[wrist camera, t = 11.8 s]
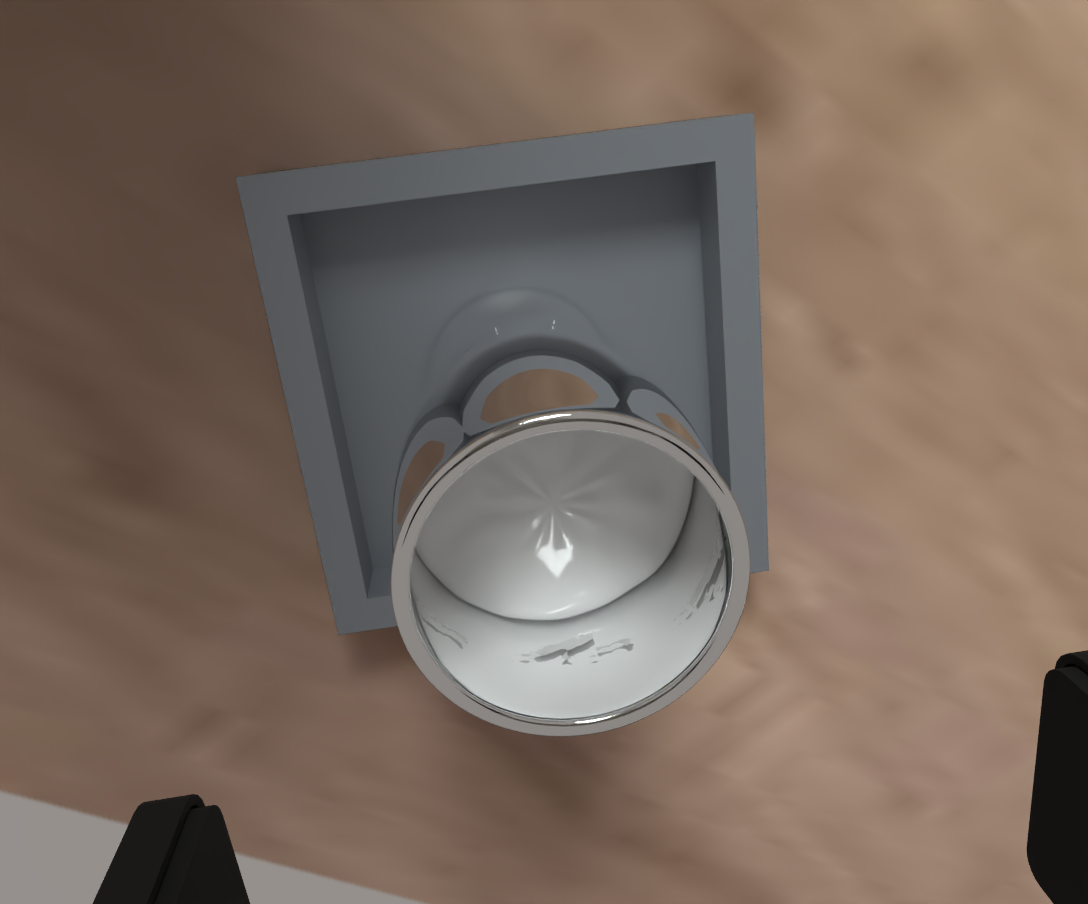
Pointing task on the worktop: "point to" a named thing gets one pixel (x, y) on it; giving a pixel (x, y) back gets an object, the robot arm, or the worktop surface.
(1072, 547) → the worktop surface
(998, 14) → the worktop surface
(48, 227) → the worktop surface
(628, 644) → the beer glass
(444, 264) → the slate tray
